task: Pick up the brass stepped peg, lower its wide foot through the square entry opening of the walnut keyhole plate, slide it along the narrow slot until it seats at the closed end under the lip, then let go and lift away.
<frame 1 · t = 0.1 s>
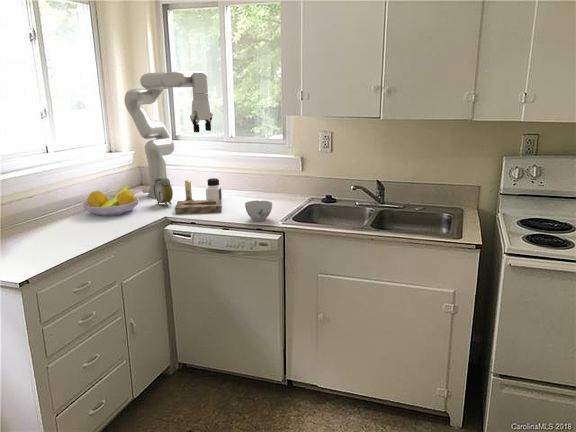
hand: (202, 131, 247), 37 cm above the countertop, tool pointing down, fingers open, 9 cm apart
peg: (189, 203, 253), on the countertop
teacup: (258, 219, 222), on the countertop
medicine bottle: (214, 200, 259), on the countertop
alarm clock: (165, 205, 250), on the countertop
fruit bowl: (113, 212, 238), on the countertop
keyhole plate: (199, 209, 240), on the countertop
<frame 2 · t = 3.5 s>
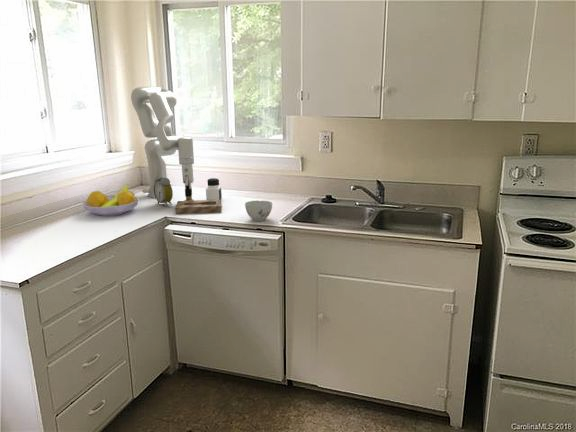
hand: (188, 195, 252), 4 cm above the countertop, tool pointing down, fingers closed on peg, 3 cm apart
peg: (189, 203, 253), on the countertop, touching gripper
everything else where it was.
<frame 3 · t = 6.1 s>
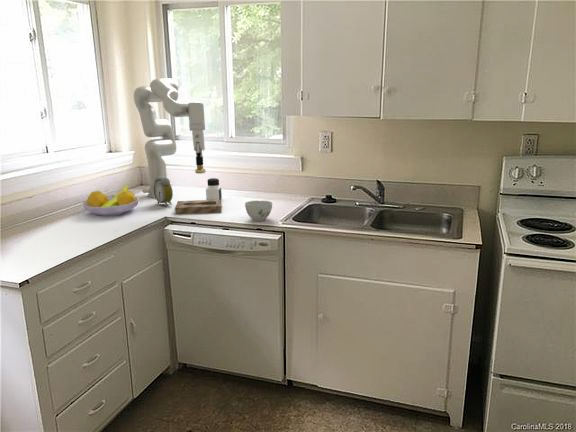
hand: (199, 164, 239), 22 cm above the countertop, tool pointing down, fingers closed on peg, 3 cm apart
peg: (200, 172, 240), point 18 cm above the countertop, touching gripper
everything else where it was.
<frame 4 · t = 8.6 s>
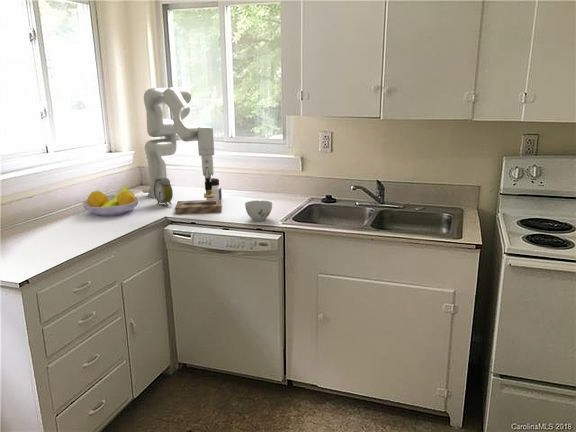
hand: (208, 188, 237), 11 cm above the countertop, tool pointing down, fingers closed on peg, 3 cm apart
peg: (209, 197, 239), point 6 cm above the countertop, touching gripper
everything else where it was.
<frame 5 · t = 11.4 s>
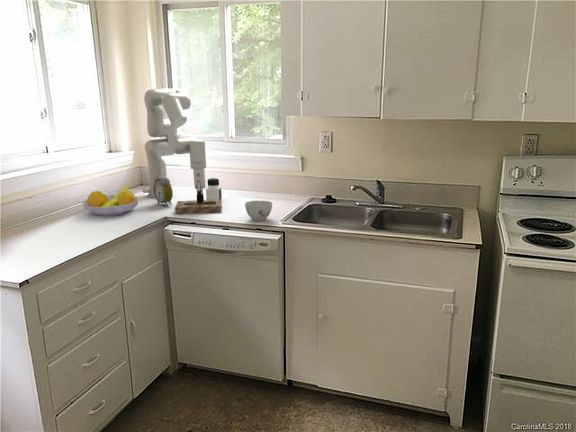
hand: (200, 201, 239), 4 cm above the countertop, tool pointing down, fingers closed on peg, 3 cm apart
peg: (200, 209, 240), resting in keyhole plate, touching gripper
everything else where it was.
when the fingers open (4 cm above the countertop, at t = 13.9 s): peg stays where it is, resting in keyhole plate.
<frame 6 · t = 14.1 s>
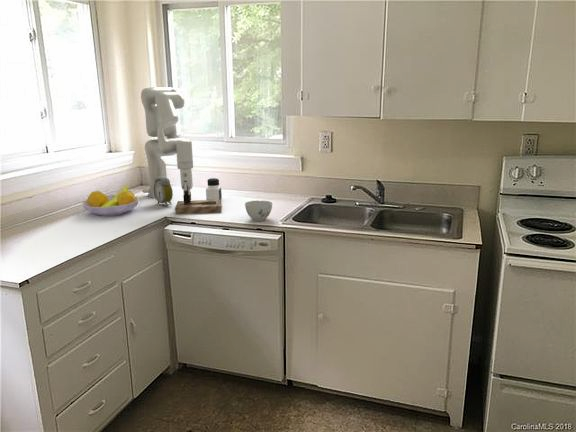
hand: (187, 201, 238), 5 cm above the countertop, tool pointing down, fingers open, 4 cm apart
peg: (188, 210, 239), resting in keyhole plate
everything else where it was.
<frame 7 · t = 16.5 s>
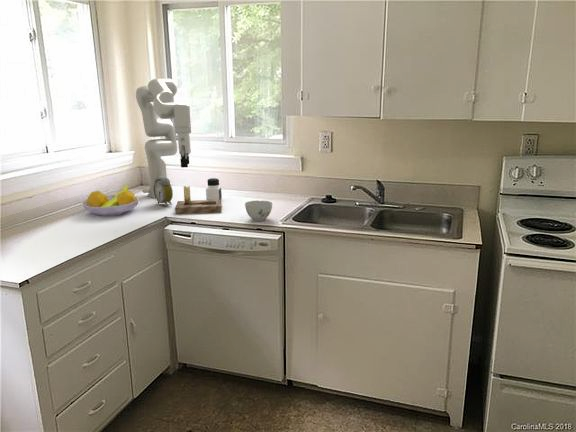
hand: (185, 165, 234), 22 cm above the countertop, tool pointing down, fingers open, 9 cm apart
nothing on the countertop moved.
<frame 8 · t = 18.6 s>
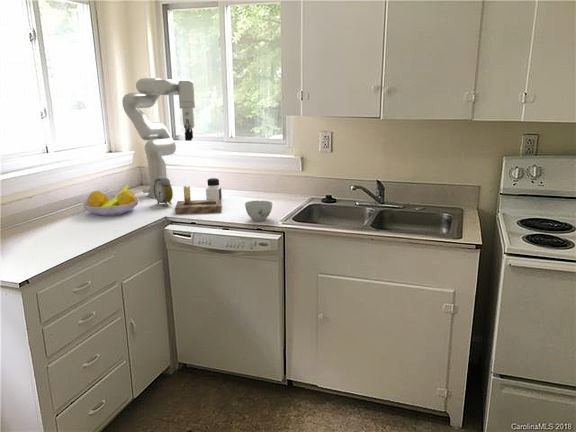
hand: (189, 139, 246), 33 cm above the countertop, tool pointing down, fingers open, 9 cm apart
nothing on the countertop moved.
at the end: peg 0.1 cm from the target spot on the keyhole plate, point 0.0 cm above the keyhole plate's base; peg tilted 0°; the gripper is holding nothing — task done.
